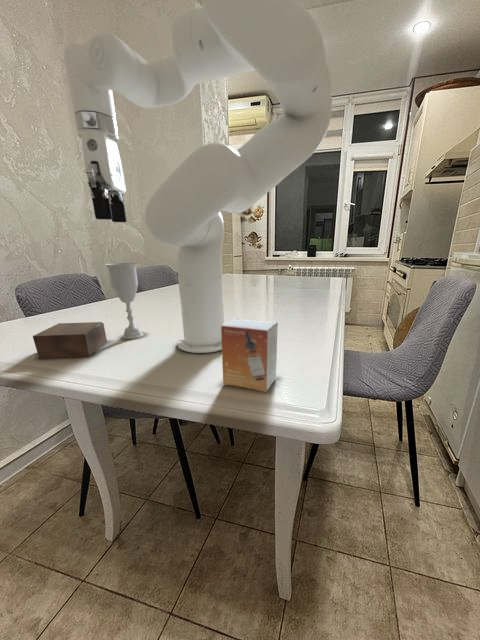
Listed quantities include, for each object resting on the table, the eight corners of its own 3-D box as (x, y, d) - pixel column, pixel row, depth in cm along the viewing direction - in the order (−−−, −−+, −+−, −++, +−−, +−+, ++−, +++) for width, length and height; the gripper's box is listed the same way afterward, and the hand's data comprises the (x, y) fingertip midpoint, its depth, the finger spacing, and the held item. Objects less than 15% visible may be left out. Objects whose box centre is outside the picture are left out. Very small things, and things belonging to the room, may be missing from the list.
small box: (222, 385, 49) (219, 325, 46) (235, 372, 54) (234, 317, 51) (267, 392, 47) (267, 330, 43) (277, 378, 52) (278, 321, 48)
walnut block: (107, 341, 71) (103, 321, 69) (89, 356, 62) (84, 334, 60) (63, 343, 70) (58, 323, 68) (38, 358, 60) (32, 336, 59)
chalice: (136, 341, 71) (124, 265, 65) (112, 339, 73) (98, 264, 66) (153, 332, 78) (143, 263, 72) (130, 331, 79) (119, 262, 73)
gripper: (100, 113, 52) (117, 218, 58) (129, 143, 68) (139, 223, 74) (55, 111, 51) (76, 217, 57) (95, 142, 67) (108, 222, 73)
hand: (112, 220), depth 65 cm, fingers open, 9 cm apart
